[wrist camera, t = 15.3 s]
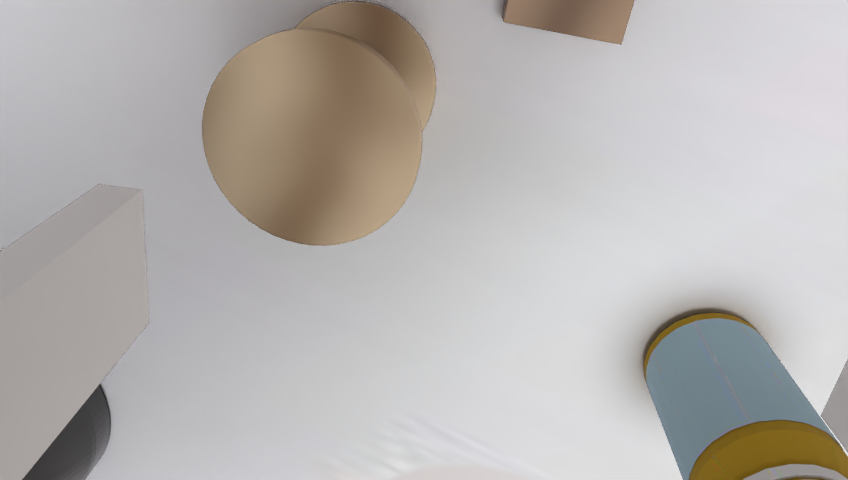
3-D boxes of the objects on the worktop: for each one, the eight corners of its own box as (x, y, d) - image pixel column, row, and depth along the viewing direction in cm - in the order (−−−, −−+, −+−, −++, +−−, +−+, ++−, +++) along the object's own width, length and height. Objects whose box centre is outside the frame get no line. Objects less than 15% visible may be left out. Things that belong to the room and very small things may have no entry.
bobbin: (275, 143, 36) (198, 224, 26) (287, -14, 32) (205, 10, 22) (421, 170, 36) (401, 262, 26) (449, 17, 33) (439, 55, 23)
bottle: (664, 420, 42) (757, 655, 28) (623, 334, 39) (703, 546, 26) (777, 380, 40) (934, 611, 26) (741, 288, 38) (893, 490, 24)
